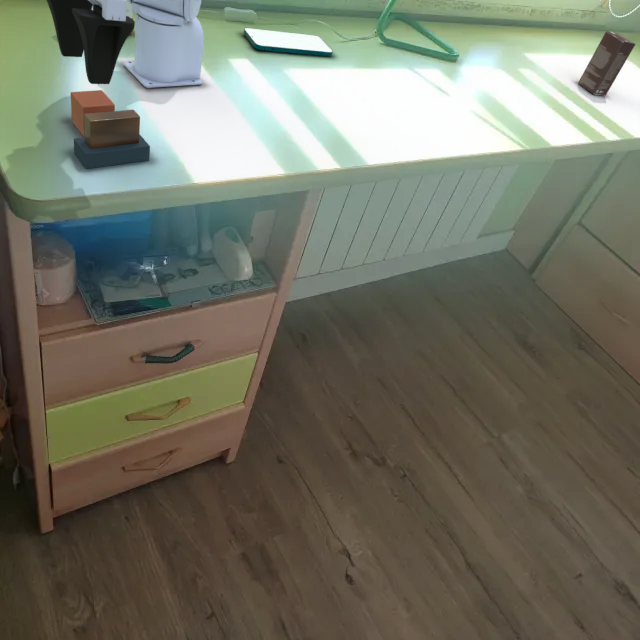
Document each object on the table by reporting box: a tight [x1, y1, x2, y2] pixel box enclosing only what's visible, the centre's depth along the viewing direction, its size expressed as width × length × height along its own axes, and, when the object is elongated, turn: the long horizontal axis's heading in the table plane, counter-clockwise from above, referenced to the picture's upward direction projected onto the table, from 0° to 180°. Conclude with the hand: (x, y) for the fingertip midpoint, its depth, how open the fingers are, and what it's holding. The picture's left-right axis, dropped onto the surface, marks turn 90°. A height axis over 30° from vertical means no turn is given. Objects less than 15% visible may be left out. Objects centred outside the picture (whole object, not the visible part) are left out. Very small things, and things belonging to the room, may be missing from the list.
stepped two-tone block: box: [73, 109, 151, 170], centre depth 72 cm, size 8×4×6 cm, turn 127°
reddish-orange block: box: [70, 89, 116, 137], centre depth 77 cm, size 4×4×4 cm
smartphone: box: [243, 27, 334, 57], centre depth 115 cm, size 8×1×16 cm
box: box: [577, 30, 636, 96], centre depth 137 cm, size 6×4×12 cm
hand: (84, 68), depth 66 cm, fingers open, 7 cm apart
